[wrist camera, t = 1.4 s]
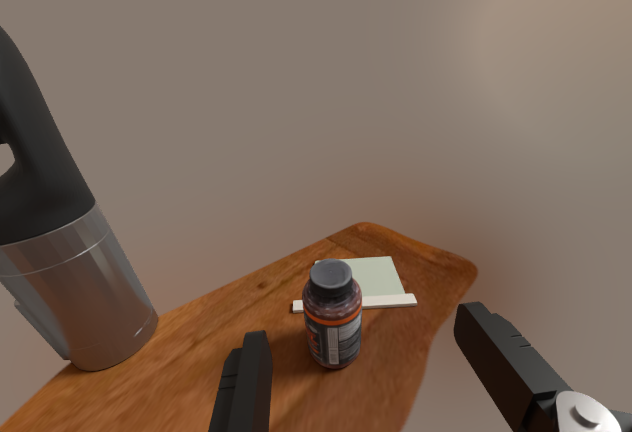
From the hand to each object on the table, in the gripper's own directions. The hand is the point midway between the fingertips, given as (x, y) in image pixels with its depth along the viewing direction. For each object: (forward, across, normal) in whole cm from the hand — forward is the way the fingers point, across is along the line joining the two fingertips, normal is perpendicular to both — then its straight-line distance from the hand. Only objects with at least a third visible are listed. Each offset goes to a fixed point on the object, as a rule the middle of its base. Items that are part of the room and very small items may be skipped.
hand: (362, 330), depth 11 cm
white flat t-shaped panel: (+22, -3, +17) cm, 28 cm away
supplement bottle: (+13, 0, +18) cm, 22 cm away
